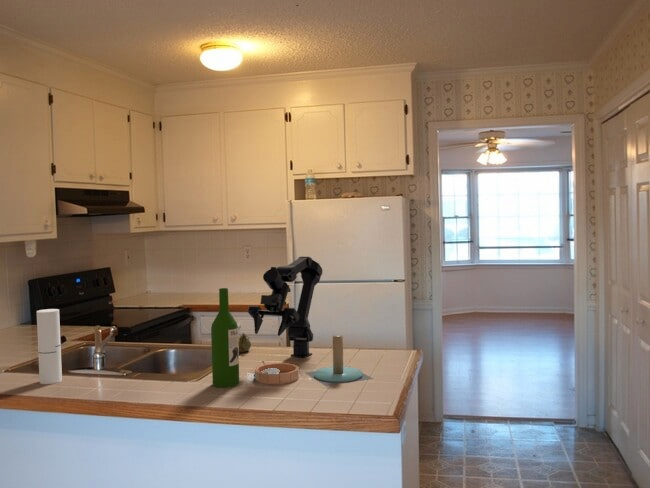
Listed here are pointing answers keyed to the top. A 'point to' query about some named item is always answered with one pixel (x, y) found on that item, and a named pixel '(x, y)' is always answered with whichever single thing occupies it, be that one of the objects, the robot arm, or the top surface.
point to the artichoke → (244, 343)
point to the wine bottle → (224, 345)
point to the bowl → (285, 375)
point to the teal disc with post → (338, 366)
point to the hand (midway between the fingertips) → (267, 334)
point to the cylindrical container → (49, 346)
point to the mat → (336, 382)
